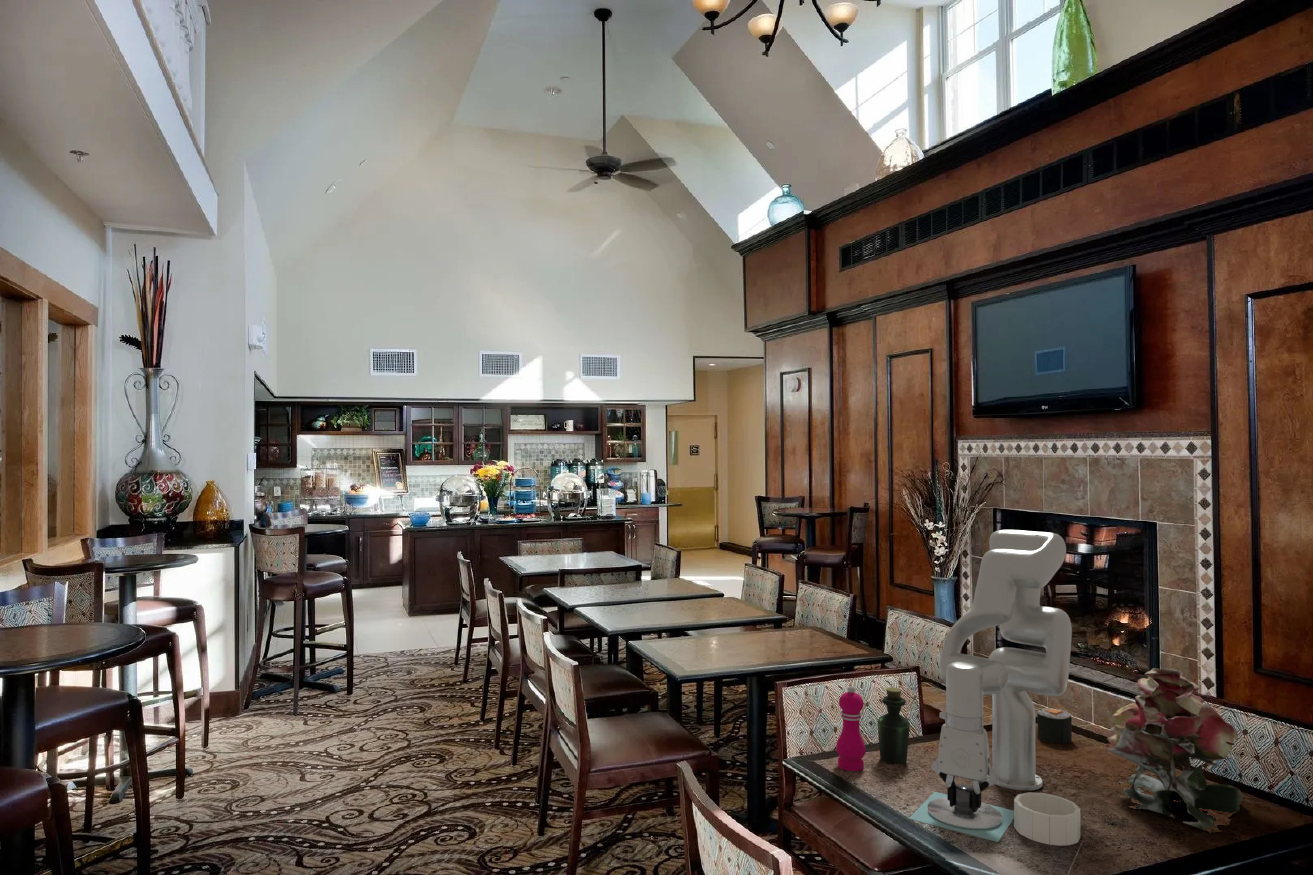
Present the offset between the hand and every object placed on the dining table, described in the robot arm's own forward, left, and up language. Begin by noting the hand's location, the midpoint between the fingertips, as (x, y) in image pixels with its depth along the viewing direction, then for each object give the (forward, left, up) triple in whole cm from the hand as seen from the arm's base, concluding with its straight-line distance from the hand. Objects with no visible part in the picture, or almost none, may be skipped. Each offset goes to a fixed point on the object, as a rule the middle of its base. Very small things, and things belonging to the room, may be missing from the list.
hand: (964, 806), depth 179 cm
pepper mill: (-13, -31, -2) cm, 34 cm away
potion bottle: (-24, -24, -2) cm, 34 cm away
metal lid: (0, 0, -2) cm, 2 cm away
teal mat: (0, 0, -2) cm, 2 cm away
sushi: (-68, +6, -2) cm, 68 cm away
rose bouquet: (-38, +35, -2) cm, 52 cm away
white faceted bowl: (-2, +16, -2) cm, 16 cm away
